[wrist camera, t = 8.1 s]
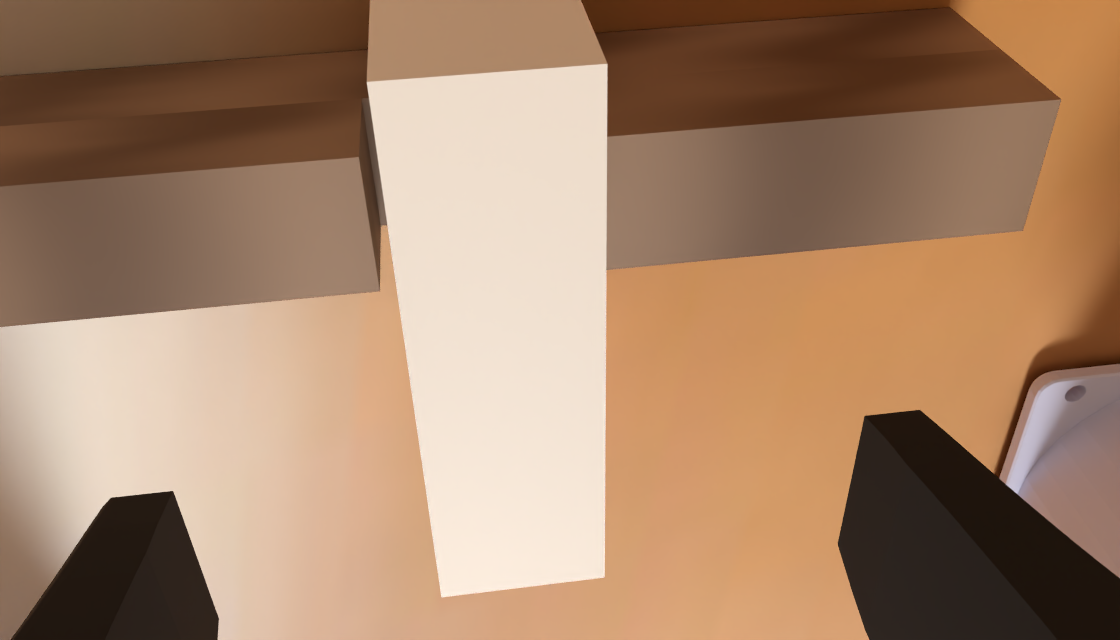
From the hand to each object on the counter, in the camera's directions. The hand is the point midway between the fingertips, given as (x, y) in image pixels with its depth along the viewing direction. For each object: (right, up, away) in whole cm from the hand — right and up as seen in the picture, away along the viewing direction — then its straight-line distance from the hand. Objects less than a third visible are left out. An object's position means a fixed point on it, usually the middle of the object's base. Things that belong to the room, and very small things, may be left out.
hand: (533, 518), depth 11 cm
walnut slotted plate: (-1, +6, +8) cm, 10 cm away
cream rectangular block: (-1, +6, +8) cm, 10 cm away
